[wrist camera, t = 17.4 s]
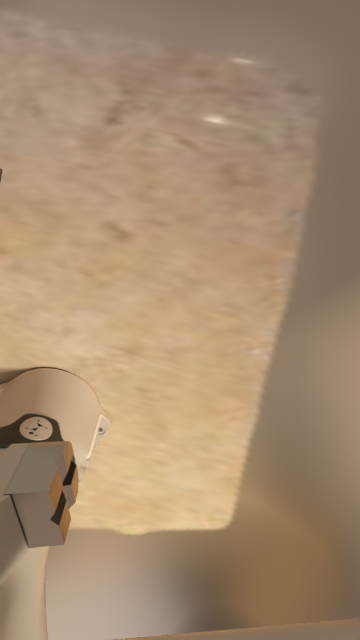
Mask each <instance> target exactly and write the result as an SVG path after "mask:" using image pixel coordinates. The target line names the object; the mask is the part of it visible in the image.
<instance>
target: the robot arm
mask: <svg viewBox="0 0 360 640" xmlns="http://www.w3.org/2000/svg"><path fill="white" fill-rule="evenodd" d="M111 424H112V420H111V418H110V417H109V416H108V415H107V414H106V413H105V412H104V411H103V410H102V409H101V407H100V405H99V402H98V400H97V397H96V395H95V393H94V392H93V390H92V389H91V388H90V387H89V386H88V385H87V384H86V383H85V382H84V381H83V380H81V379H80V378H78V377H77V376H75V375H73V374H71V373H68V372H66V371H62V370H58V369H52V368H39V369H33V370H29V371H26V372H24V373H22V374H20V375H18V376H17V377H15V378H14V379H13V380H11V381H9V382H7V383H2V384H0V640H48V632H47V620H46V597H45V596H46V595H45V594H46V593H45V592H46V591H45V590H46V587H45V586H46V567H47V559H48V553H49V548H50V546H54V545H64V543H65V539H66V536H67V532H68V528H69V524H70V521H71V517H70V513H69V508H70V507H71V506H72V505H73V504H74V503H75V501H76V497H77V493H78V482H80V481H81V479H82V477H83V475H84V472H85V468H86V467H87V465H88V463H89V460H90V459H89V457H90V456H91V454H92V453H93V452H94V450H95V449H96V447H97V446H98V444H99V443H100V442H101V440H102V439H103V437H104V436H105V434H106V433H107V432H108V430H109V429H110V426H111ZM99 428H102V429H99ZM115 640H360V619H348V620H337V621H325V622H313V623H302V624H291V625H278V626H267V627H255V628H243V629H232V630H220V631H209V632H197V633H185V634H174V635H162V636H150V637H138V638H126V639H115Z"/></svg>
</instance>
